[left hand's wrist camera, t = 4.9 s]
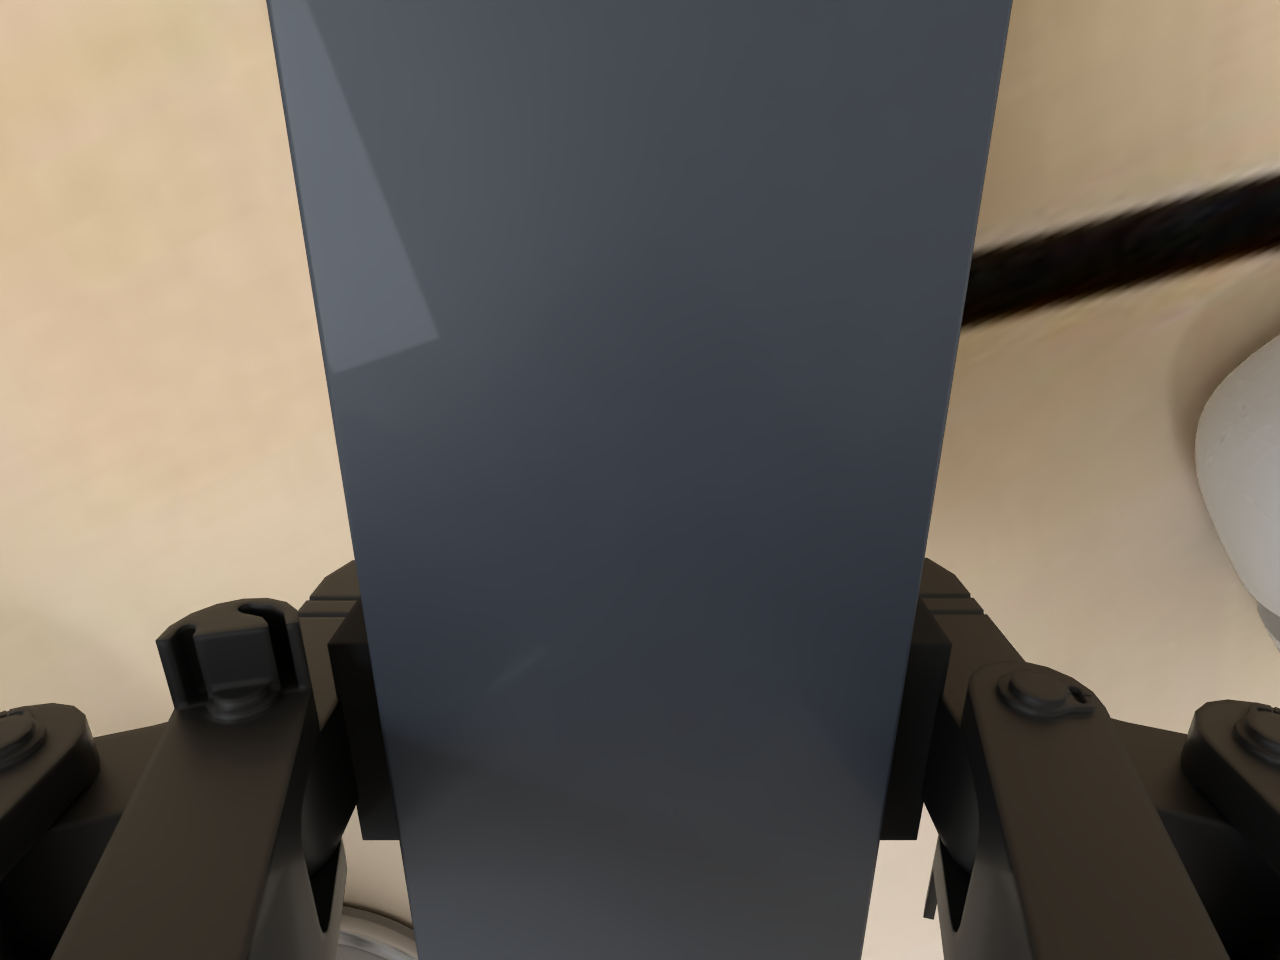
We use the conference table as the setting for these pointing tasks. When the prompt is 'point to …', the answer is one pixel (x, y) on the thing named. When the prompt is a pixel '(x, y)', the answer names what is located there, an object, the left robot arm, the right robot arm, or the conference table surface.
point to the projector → (1246, 475)
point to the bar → (639, 439)
